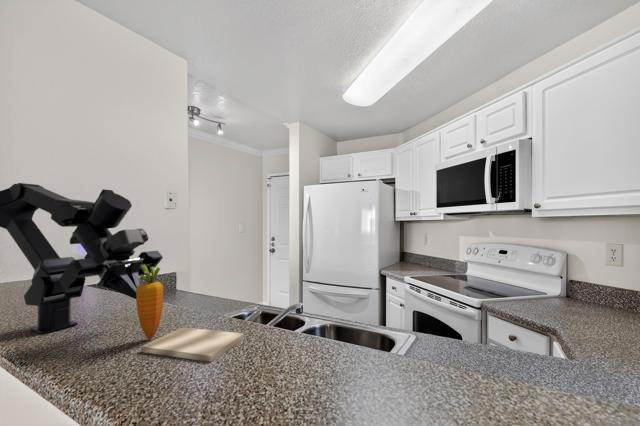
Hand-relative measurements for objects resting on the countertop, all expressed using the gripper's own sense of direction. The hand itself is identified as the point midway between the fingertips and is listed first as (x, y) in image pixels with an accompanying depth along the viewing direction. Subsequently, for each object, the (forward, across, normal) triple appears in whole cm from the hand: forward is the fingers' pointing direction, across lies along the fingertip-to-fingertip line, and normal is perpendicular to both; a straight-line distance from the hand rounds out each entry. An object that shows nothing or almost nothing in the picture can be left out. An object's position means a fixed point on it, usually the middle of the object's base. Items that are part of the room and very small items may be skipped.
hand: (139, 297), depth 60 cm
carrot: (+8, 0, +4) cm, 9 cm away
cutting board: (+16, 0, -4) cm, 16 cm away
